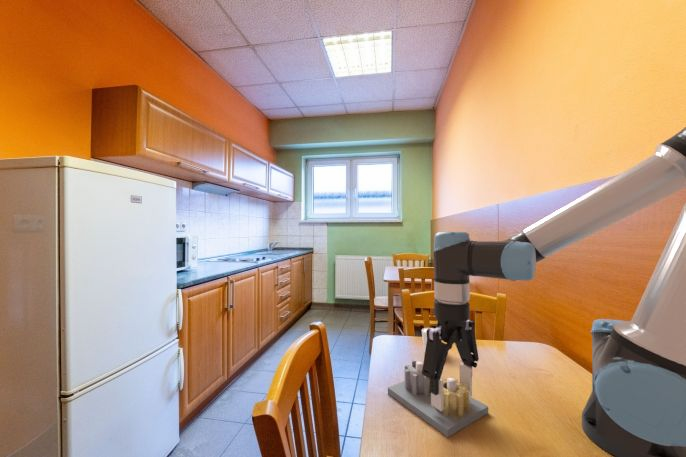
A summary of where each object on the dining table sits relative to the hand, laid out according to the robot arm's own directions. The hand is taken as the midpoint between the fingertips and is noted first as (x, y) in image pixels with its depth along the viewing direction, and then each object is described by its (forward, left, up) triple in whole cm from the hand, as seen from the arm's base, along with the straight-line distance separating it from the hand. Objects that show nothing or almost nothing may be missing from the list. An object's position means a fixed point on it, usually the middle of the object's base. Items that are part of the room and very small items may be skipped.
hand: (452, 400), depth 64 cm
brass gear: (0, 0, -2) cm, 2 cm away
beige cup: (+25, -22, -3) cm, 33 cm away
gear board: (+5, 0, -3) cm, 6 cm away
